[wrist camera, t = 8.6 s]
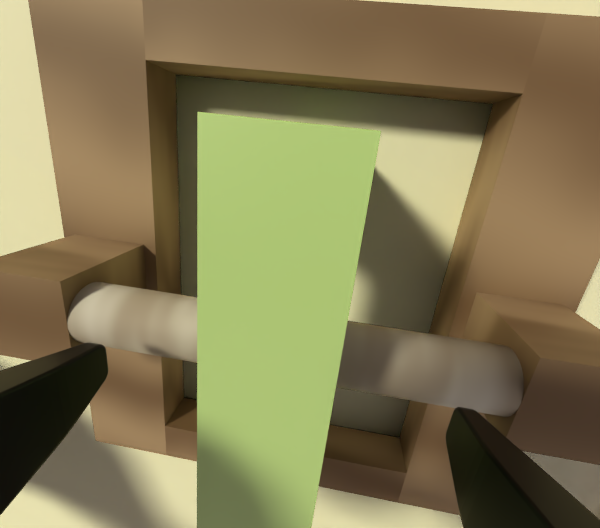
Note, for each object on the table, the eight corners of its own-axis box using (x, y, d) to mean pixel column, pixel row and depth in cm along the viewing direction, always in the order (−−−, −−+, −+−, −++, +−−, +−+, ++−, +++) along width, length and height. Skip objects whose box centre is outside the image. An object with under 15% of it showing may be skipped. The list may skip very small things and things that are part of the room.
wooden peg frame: (466, 479, 17) (527, 639, 11) (120, 412, 19) (25, 521, 13) (639, 47, 10) (995, -82, 5) (74, 5, 12) (-162, -127, 6)
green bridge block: (317, 407, 15) (299, 592, 9) (258, 396, 16) (196, 568, 9) (358, 147, 12) (381, 130, 5) (278, 139, 12) (197, 111, 5)
